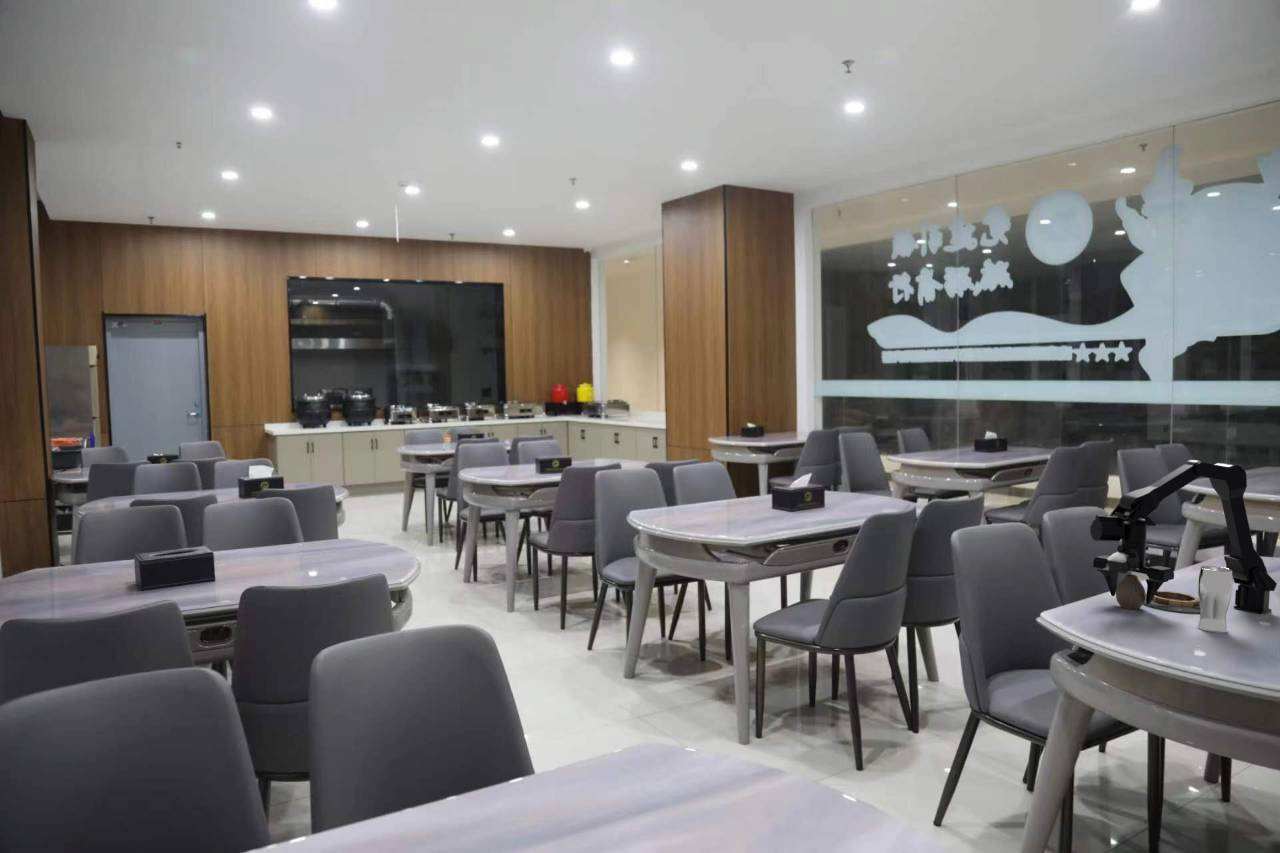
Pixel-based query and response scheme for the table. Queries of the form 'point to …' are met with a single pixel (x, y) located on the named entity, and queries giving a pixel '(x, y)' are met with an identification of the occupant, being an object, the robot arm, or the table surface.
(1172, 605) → the wooden ring on tray
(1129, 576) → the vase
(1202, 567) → the beer glass
